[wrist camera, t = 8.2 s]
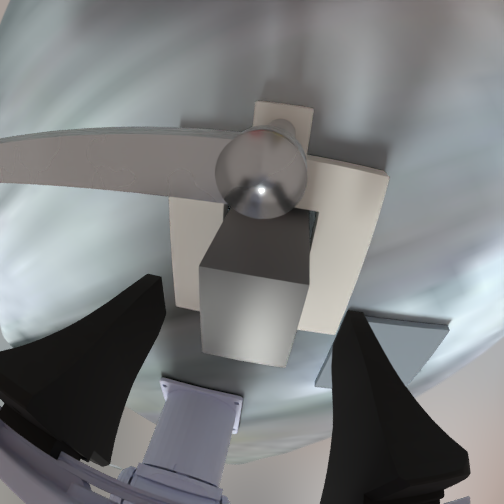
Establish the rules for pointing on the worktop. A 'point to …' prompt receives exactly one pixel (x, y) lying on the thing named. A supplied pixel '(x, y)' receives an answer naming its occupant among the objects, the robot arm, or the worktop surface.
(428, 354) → the pad
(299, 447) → the worktop surface
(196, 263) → the socket plate
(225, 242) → the plug
